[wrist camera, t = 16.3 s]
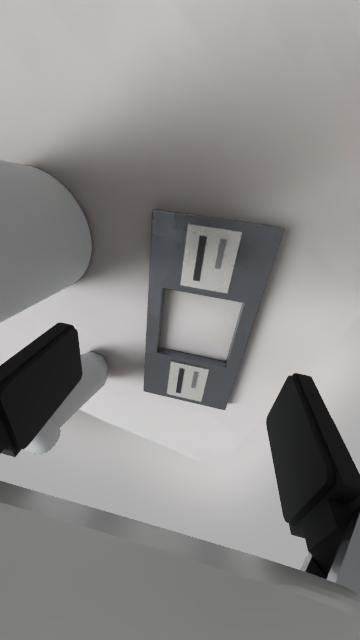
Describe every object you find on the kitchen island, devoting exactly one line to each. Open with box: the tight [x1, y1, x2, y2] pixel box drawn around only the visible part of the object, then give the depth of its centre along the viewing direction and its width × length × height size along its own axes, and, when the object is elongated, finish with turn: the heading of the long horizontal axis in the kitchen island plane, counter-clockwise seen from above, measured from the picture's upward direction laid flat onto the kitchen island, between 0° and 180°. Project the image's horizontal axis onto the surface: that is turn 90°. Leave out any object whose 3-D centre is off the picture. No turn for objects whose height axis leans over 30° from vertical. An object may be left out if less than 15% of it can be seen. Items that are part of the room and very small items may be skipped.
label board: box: [144, 210, 284, 410], centre depth 26 cm, size 24×12×2 cm, turn 173°
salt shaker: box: [24, 351, 108, 454], centre depth 27 cm, size 6×6×13 cm
